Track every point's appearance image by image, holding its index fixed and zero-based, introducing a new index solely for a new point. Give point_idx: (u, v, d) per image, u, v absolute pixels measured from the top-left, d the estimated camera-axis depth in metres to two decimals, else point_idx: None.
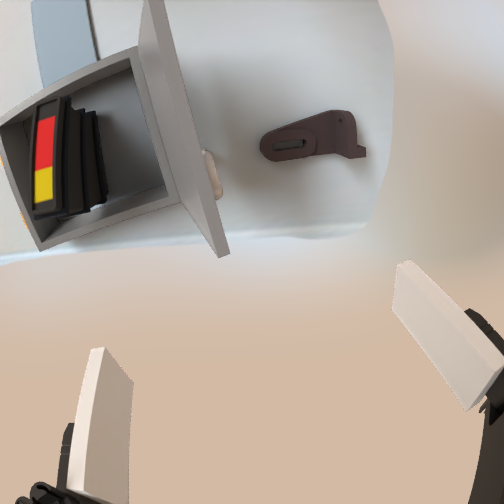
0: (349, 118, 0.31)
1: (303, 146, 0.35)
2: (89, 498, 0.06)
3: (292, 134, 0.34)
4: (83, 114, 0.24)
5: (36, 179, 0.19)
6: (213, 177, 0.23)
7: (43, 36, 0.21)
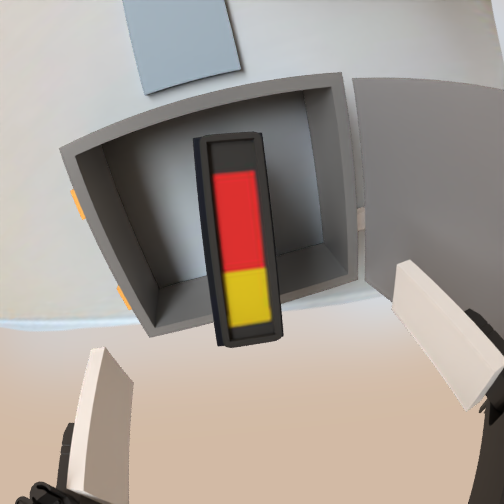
0: None
1: None
2: (89, 498, 0.06)
3: None
4: None
5: (229, 287, 0.15)
6: None
7: (142, 12, 0.16)
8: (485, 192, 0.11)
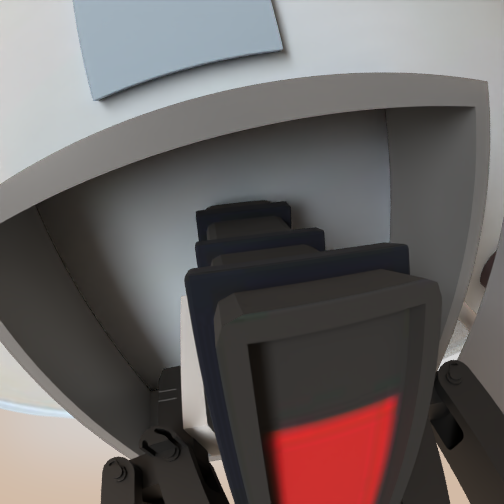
0: None
1: None
2: (200, 441, 0.08)
3: None
4: None
5: None
6: None
7: None
8: None
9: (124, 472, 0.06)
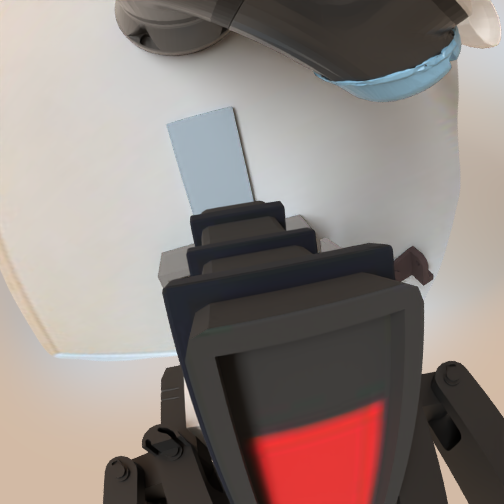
0: (424, 263, 0.45)
1: None
2: (203, 440, 0.08)
3: None
4: (316, 254, 0.09)
5: None
6: None
7: (193, 177, 0.35)
8: None
9: (127, 472, 0.06)
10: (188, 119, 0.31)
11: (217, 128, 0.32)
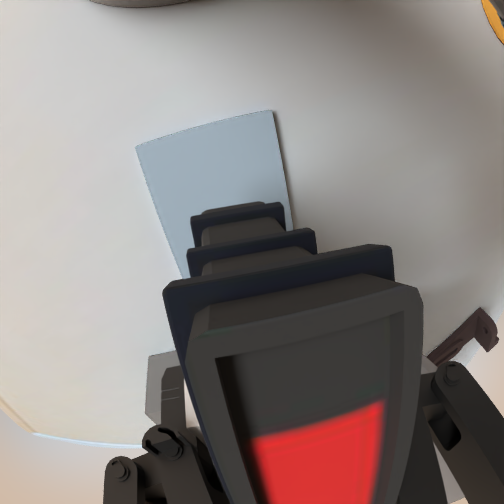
0: (493, 331, 0.28)
1: (454, 348, 0.34)
2: (203, 440, 0.08)
3: (449, 351, 0.32)
4: (316, 254, 0.09)
5: None
6: None
7: None
8: None
9: (127, 471, 0.06)
10: (180, 135, 0.15)
11: (240, 154, 0.16)
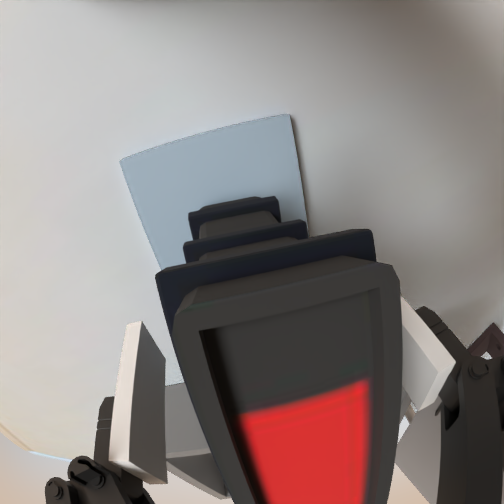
0: None
1: None
2: (130, 472, 0.07)
3: None
4: None
5: None
6: None
7: None
8: None
9: (60, 490, 0.05)
10: (175, 146, 0.12)
11: (250, 169, 0.13)
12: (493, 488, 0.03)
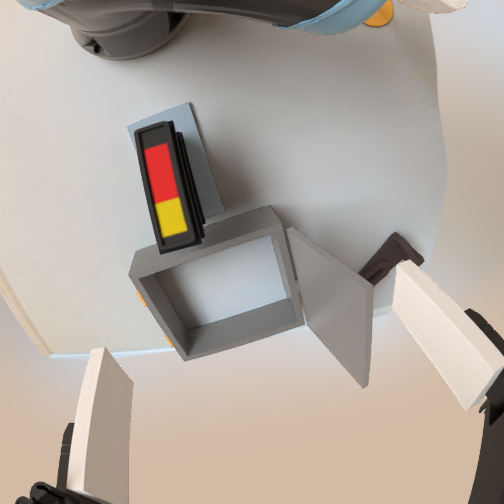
0: (408, 249, 0.43)
1: (382, 269, 0.49)
2: (89, 498, 0.06)
3: (374, 270, 0.48)
4: (180, 138, 0.28)
5: (159, 212, 0.23)
6: None
7: None
8: (341, 307, 0.29)
9: None
10: (147, 119, 0.31)
11: (175, 125, 0.32)
12: None
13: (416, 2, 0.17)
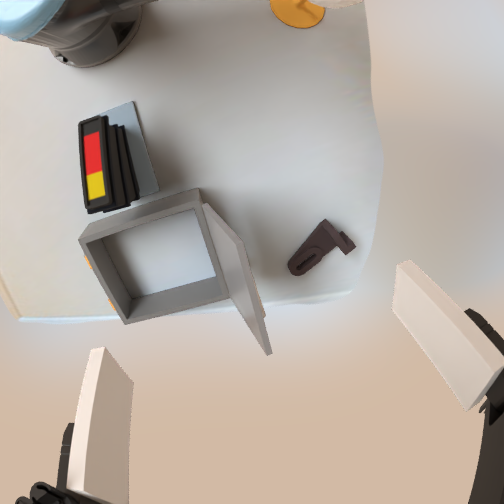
0: (334, 234, 0.49)
1: (315, 255, 0.55)
2: (89, 498, 0.06)
3: (304, 256, 0.54)
4: (117, 128, 0.33)
5: (88, 181, 0.28)
6: None
7: None
8: (234, 269, 0.34)
9: None
10: (100, 115, 0.36)
11: (121, 119, 0.37)
12: None
13: (317, 0, 0.23)
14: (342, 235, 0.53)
